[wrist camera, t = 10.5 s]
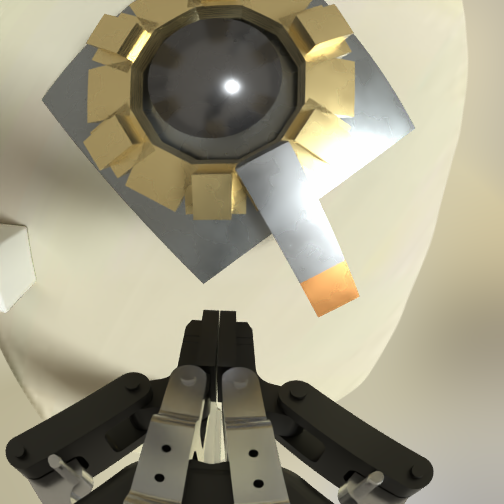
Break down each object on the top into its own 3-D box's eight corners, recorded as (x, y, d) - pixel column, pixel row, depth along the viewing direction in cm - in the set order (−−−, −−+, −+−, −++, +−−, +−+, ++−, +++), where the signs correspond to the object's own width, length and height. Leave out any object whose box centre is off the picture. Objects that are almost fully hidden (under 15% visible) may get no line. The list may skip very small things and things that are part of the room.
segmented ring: (266, -41, 11) (272, -72, 7) (408, 227, 20) (438, 250, 16) (71, 69, 14) (37, 62, 10) (232, 317, 23) (231, 355, 19)
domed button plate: (391, 126, 21) (450, 132, 13) (208, 261, 26) (196, 318, 18) (245, -42, 14) (248, -95, 6) (66, 100, 19) (6, 100, 11)
